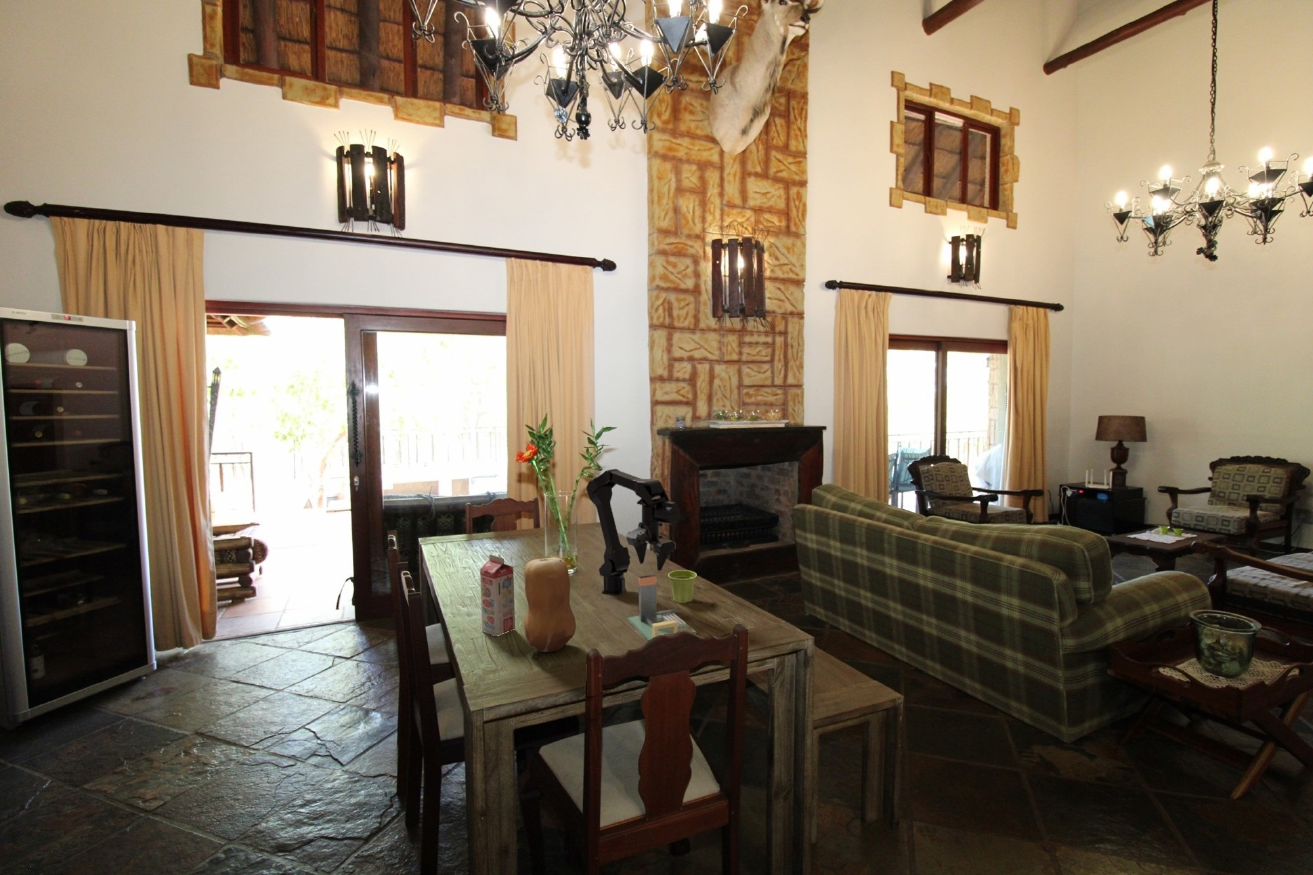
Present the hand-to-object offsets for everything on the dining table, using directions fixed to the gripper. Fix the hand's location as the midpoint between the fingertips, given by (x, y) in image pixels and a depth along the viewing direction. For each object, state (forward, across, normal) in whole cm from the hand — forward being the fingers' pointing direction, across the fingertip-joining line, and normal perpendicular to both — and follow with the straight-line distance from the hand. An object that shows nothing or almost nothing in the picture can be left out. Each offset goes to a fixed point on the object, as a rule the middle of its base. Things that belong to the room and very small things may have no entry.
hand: (650, 567), depth 196 cm
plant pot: (+12, +4, +10) cm, 17 cm away
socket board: (+12, +17, -10) cm, 23 cm away
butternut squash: (+12, +10, -42) cm, 45 cm away
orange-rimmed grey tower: (+11, +16, -7) cm, 21 cm away
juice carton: (+13, -11, -47) cm, 50 cm away
